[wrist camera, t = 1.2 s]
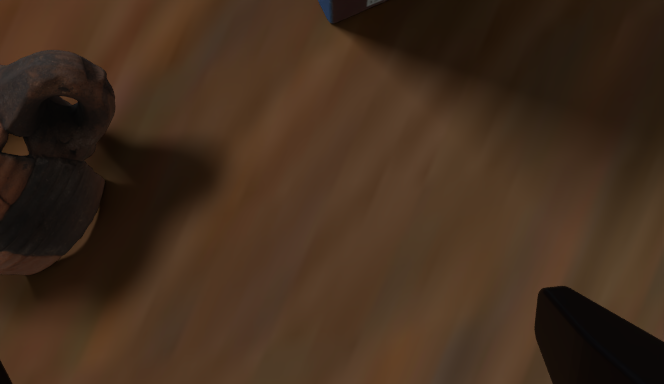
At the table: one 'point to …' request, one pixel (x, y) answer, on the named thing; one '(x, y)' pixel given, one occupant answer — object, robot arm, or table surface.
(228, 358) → the table surface
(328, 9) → the protein box
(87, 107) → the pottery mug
